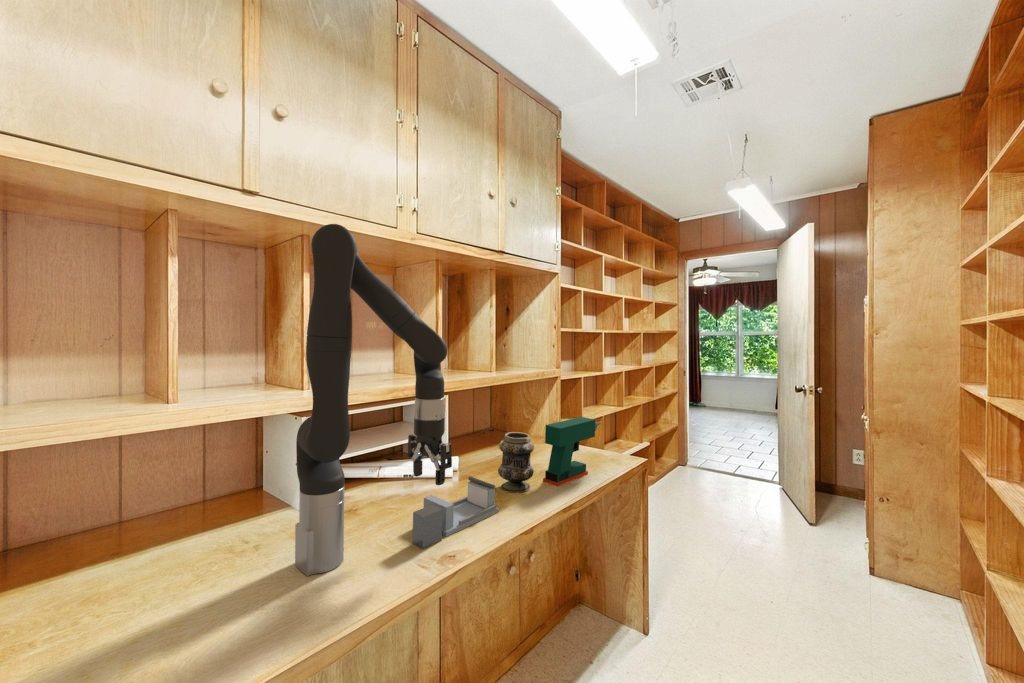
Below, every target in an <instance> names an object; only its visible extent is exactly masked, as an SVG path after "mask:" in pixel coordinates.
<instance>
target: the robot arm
mask: <svg viewBox="0 0 1024 683" xmlns="http://www.w3.org/2000/svg"><path fill="white" fill-rule="evenodd" d="M310 244H311V245H310V246H311V247H310V249H311V254H312V259H313V260H312V262H313V264H312V265H313V278H314V279H313V292H312V294H313V295H312V299H311V304H310V308H309V314H308V320H307V321H308V323H307V330H306V343H305V344H306V345H305V357H306V359H305V361H306V368H307V374H308V377H309V381H310V387H311V392H312V408H311V409H312V410H311V416H309V417H307V418H306V419H305V420H304V421H302V423H301V424H300V426H299V427H298V430H297V434H296V445H295V446H296V450H295V451H296V474H297V478H298V483H299V507H298V508H299V514H298V515H299V516H298V517H299V518H298V519H299V520H298V521H299V522H296V523H295V525H294V526H295V528H294V530H295V532H294V534H295V536H294V541H295V542H294V548H295V550H294V565H295V567H296V568H297V569H298V570H300V571H301V572H302V573H304V575H305V576H307V577H308V576H311V575H315V574H322V573H327V572H329V571H332V570H334V569H336V568H339V566H340V565H342V563H343V561H344V551H345V547H344V545H345V544H344V543H345V542H344V541H345V536H344V535H345V473H344V470H343V467H342V464H341V461H340V458H341V457H342V456H343V454H345V452H346V451H347V449H348V446H349V443H350V440H351V439H350V438H351V437H350V436H351V432H350V429H351V428H350V418H349V416H350V415H349V386H350V376H351V375H350V374H351V362H352V360H351V358H352V347H353V345H352V344H353V313H352V312H353V311H352V300H351V299H352V296H351V293H352V291H354V292H355V294H356V295H357V296H358V297H359V298H360V299H361V300H362V301H363V302H364V303H365V304H366V305H367V306H368V307H369V308H370V309H371V311H373V312H374V314H375V315H376V316H377V317H378V318H379V319H380V321H382V322H383V323H384V324H385V325H386V326H387V327H388V328H389V329H390V331H391V332H393V333H394V334H395V335H396V336H397V337H398V338H400V339H402V340H403V341H404V342H405V343H406V344H407V345H408V347H410V349H412V350H413V364H414V372H415V385H414V386H415V388H414V390H415V391H414V396H415V397H414V407H413V434H409V435H408V437H407V439H408V440H407V458H411V461H412V466H413V469H412V470H413V472H412V473H413V476H414V477H417V478H418V477H420V476H422V475H423V458H424V457H426V458H429V460H430V462H431V463H433V465H434V467H435V469H436V470H435V485H436V486H442V485H444V484H445V481H446V470H447V469H450V468H452V467H453V455H452V452H453V451H452V450H453V449H452V443H451V442H447V443H444V442H443V440H442V438H443V436H444V434H445V433H446V432H445V431H446V429H445V427H446V424H445V423H446V422H445V420H446V405H445V404H446V403H445V380H444V376H443V374H442V367H441V365H442V362H443V361H445V359H446V357H447V356H448V346H447V343H446V341H445V340H444V339H443V337H441V336H440V334H439V333H437V332H436V331H435V330H434V329H433V328H432V327H430V326H429V325H428V323H426V322H425V321H424V320H422V319H421V317H420V316H419V315H418V314H417V313H416V312H415V310H414V309H413V308H412V307H411V306H410V305H409V304H408V303H407V302H406V300H405V299H403V298H402V297H401V296H400V294H398V293H397V292H396V291H395V290H394V289H392V288H391V287H390V286H389V285H388V284H386V283H385V282H384V281H383V280H381V279H380V278H379V277H378V276H377V275H376V274H375V273H374V272H373V271H372V270H371V269H370V268H369V267H368V266H367V264H366V263H365V262H364V261H363V259H362V258H361V256H360V254H359V253H358V245H357V240H356V238H355V237H354V235H353V234H352V233H351V231H350V230H349V229H348V228H346V227H345V226H344V225H341V224H338V223H328V224H325V225H323V226H321V227H320V228H319V229H317V231H315V233H314V234H313V236H312V238H311V243H310ZM439 462H440V463H439Z"/></svg>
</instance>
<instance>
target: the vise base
mask: <svg viewBox="0 0 1024 683" xmlns="http://www.w3.org/2000/svg"><path fill="white" fill-rule="evenodd" d="M467 497H468V495H467V496H465V497H463V498H459V499H457V500H455V501H452V502H449V501H446V500H444V499H443V498H440V497H438V496H436V495H433V494H429V495H427V496H424V497H423V508H425V507H428V506H430V505H434V506H436V507H438V508H441V509H442V536H444V537H448V536H451V535H453V534H455V533H457V532H459V531H462V530H463V529H466V528H468V527H470V526H472V525H474V524H476V523H478V522H481V521H483V520H485V519H487V518H489V517H491V516H493V515H495V514H497V513H499V510H500V509H499V507H497V505H496V504H495V505H492V506H490V507H488V508H486V509H485V508H482V507H480V506H477V505H475V504H473V503H470V502H468V501H467Z"/></svg>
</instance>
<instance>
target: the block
mask: <svg viewBox="0 0 1024 683" xmlns="http://www.w3.org/2000/svg"><path fill="white" fill-rule="evenodd" d="M442 538H443V535H442V509H441V508H438V507H436V506H434V505H430V506H428V507H425V508H424V507H423V508H420V509H417V510H415V511H413V513H412V545H414V546H416V547H418V548H419V549H421V550H424V549H427V548H429V547H431V546H433V545H435V544H438V543H439V542H441V541H443V539H442Z"/></svg>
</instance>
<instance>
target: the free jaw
mask: <svg viewBox="0 0 1024 683" xmlns="http://www.w3.org/2000/svg"><path fill="white" fill-rule="evenodd" d="M467 479H468V482H467V496H468V497H467V496H466V497H467V501H468V502H470V503H473V504H475V505H477V506H480V507H482V508H485V509H486V508H488V507H490V506H492V505H496V504H495V500H496V497H495V495H496V485H495V484H494V483H490V482H488V481H484V480H482V479H480V478H476V477H473V476H471V475H470V476H468V477H467Z"/></svg>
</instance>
